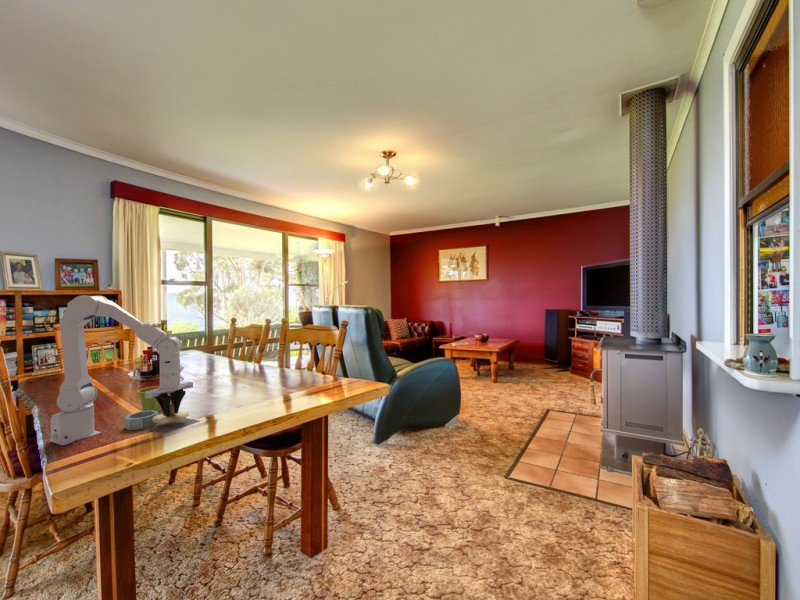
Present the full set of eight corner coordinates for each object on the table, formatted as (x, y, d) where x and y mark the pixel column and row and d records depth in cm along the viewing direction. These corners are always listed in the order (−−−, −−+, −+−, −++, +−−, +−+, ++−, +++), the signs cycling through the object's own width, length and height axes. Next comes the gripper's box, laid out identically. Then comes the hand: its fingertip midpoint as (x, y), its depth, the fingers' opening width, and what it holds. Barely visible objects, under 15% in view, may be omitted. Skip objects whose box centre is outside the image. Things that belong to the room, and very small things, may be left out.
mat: (163, 435, 108) (163, 433, 108) (140, 430, 113) (140, 428, 113) (200, 422, 119) (200, 420, 119) (177, 418, 124) (177, 416, 124)
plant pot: (132, 413, 129) (132, 390, 129) (159, 406, 138) (159, 384, 138) (146, 417, 125) (145, 393, 125) (173, 409, 133) (173, 387, 133)
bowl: (135, 433, 110) (135, 420, 110) (119, 429, 114) (119, 417, 114) (163, 424, 118) (163, 412, 118) (148, 420, 122) (147, 409, 122)
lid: (164, 424, 109) (164, 411, 109) (145, 420, 113) (145, 407, 113) (195, 414, 118) (194, 402, 118) (176, 411, 122) (175, 399, 122)
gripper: (154, 379, 107) (155, 423, 107) (198, 370, 121) (199, 409, 121) (140, 377, 110) (141, 420, 110) (185, 368, 123) (186, 406, 124)
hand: (170, 414), depth 116 cm, fingers closed on lid, 2 cm apart
